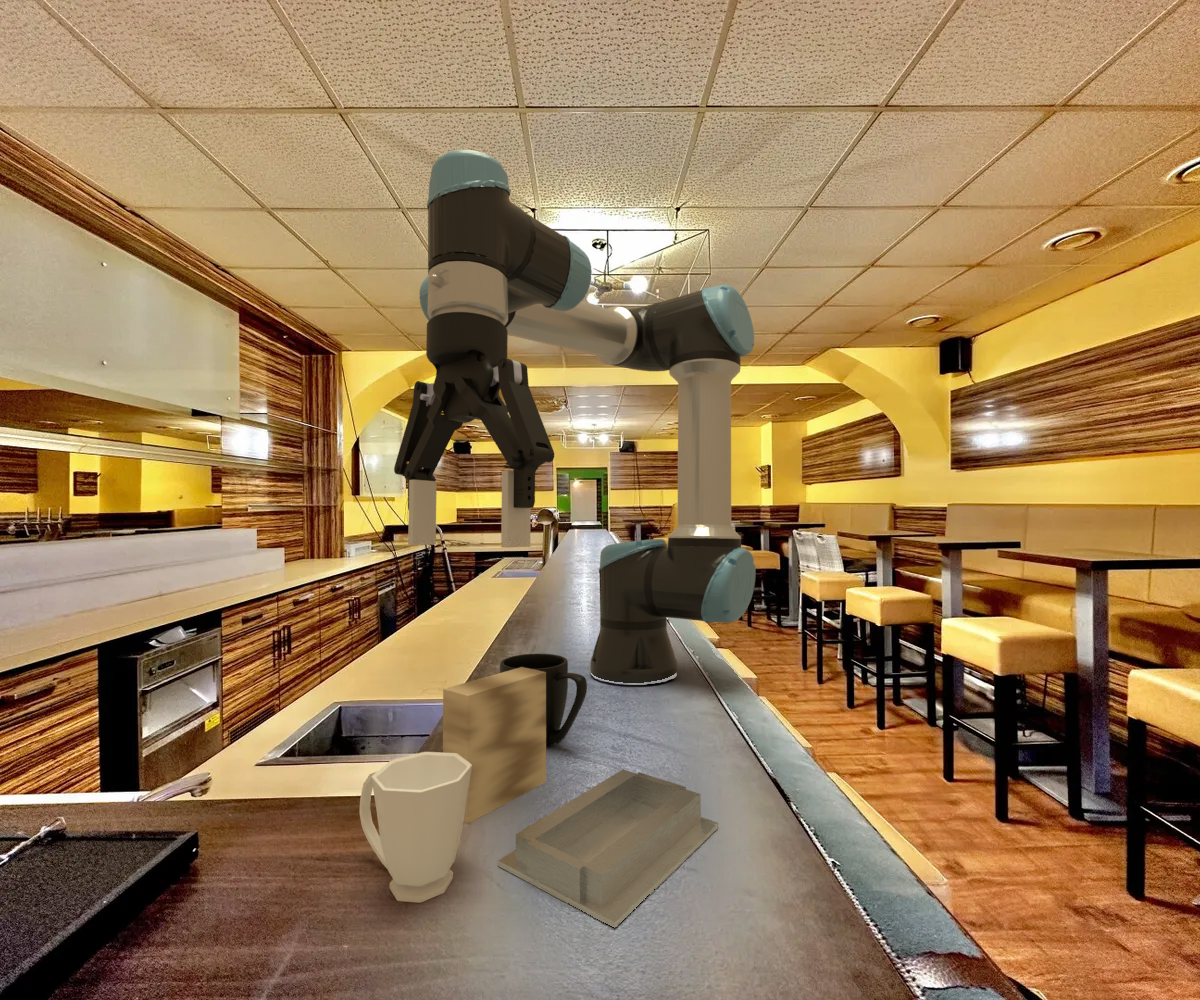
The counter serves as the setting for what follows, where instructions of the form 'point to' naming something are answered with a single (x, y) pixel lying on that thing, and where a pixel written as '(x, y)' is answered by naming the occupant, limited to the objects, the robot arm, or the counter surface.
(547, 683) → the mug
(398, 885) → the cup
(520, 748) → the wooden block
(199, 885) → the counter surface
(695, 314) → the robot arm
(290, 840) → the counter surface
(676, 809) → the beige piece
